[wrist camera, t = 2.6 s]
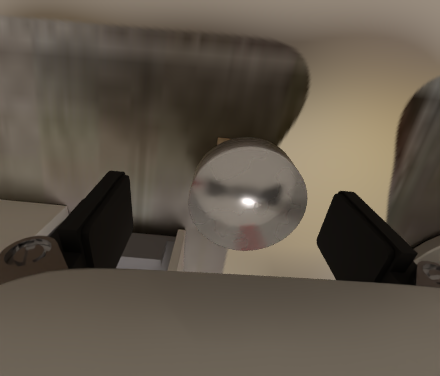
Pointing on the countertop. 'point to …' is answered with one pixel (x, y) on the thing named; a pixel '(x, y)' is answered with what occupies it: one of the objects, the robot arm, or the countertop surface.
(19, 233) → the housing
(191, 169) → the countertop surface
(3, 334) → the robot arm
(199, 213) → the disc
